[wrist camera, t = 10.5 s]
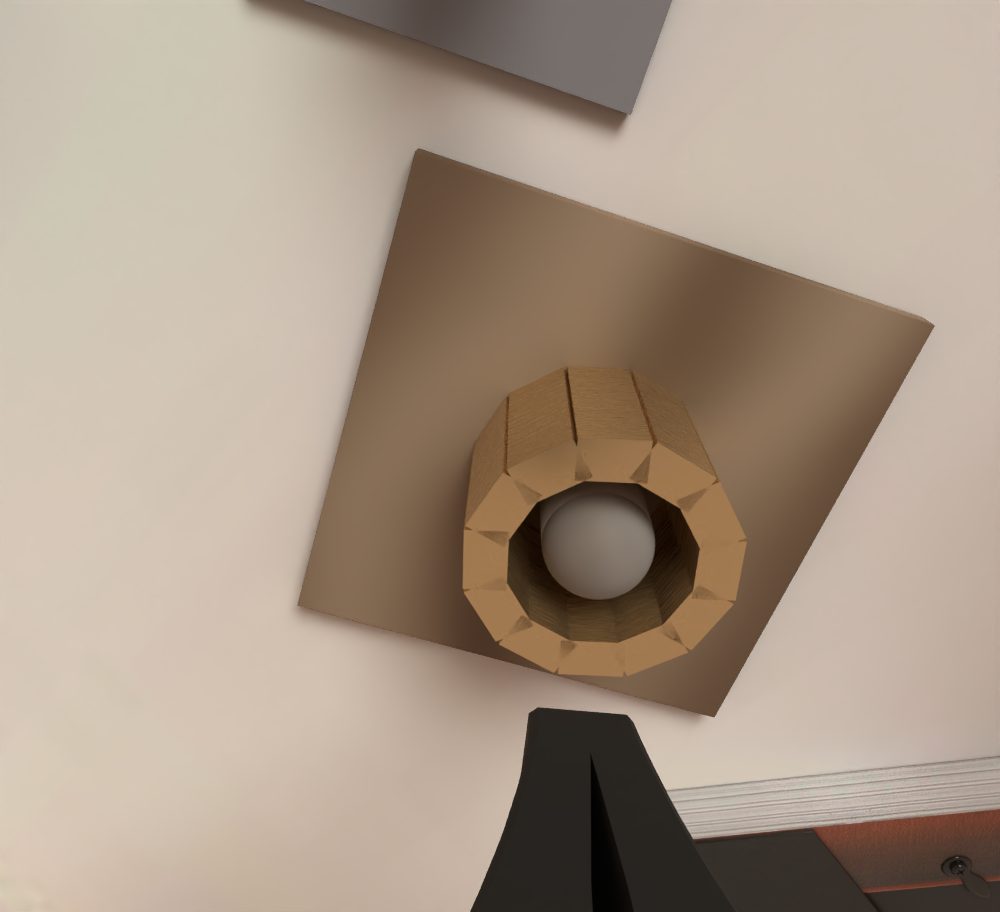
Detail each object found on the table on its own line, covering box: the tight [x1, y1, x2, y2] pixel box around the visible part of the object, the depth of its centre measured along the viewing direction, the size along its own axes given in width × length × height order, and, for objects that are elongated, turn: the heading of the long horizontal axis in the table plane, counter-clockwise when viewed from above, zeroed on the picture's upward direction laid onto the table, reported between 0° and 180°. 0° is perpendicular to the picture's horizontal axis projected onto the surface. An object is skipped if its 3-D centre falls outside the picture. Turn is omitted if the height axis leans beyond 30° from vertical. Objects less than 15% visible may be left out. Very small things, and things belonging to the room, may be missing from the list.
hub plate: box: [297, 148, 935, 717], centre depth 19 cm, size 12×12×5 cm
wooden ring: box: [463, 366, 747, 677], centre depth 19 cm, size 6×6×4 cm
